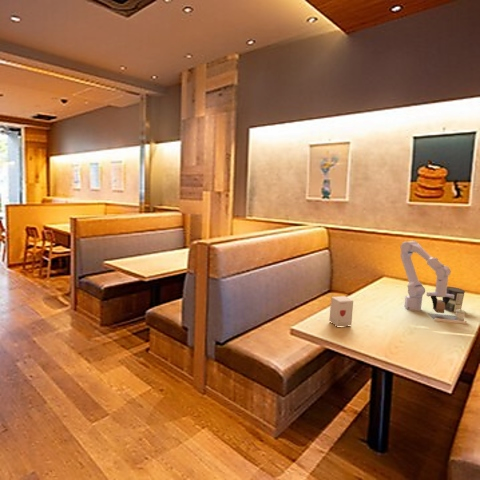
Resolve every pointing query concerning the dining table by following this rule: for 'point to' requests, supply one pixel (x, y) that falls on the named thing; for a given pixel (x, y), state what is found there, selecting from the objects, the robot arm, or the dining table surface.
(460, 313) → the celadon jar
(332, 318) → the supplement box
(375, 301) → the dining table surface
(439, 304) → the tea box
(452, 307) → the coffee can
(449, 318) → the shelf board
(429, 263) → the robot arm
